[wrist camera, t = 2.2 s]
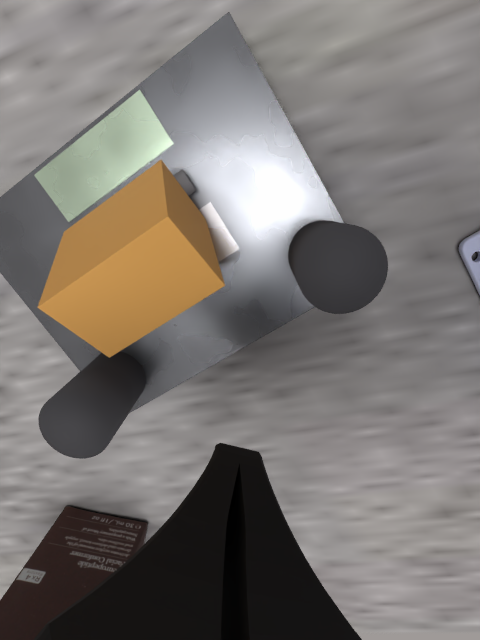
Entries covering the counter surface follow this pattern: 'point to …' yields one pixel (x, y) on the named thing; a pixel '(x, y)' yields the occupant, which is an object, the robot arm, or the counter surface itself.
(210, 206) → the grey flat block
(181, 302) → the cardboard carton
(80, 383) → the post
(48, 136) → the counter surface
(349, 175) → the counter surface
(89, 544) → the box
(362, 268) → the post
